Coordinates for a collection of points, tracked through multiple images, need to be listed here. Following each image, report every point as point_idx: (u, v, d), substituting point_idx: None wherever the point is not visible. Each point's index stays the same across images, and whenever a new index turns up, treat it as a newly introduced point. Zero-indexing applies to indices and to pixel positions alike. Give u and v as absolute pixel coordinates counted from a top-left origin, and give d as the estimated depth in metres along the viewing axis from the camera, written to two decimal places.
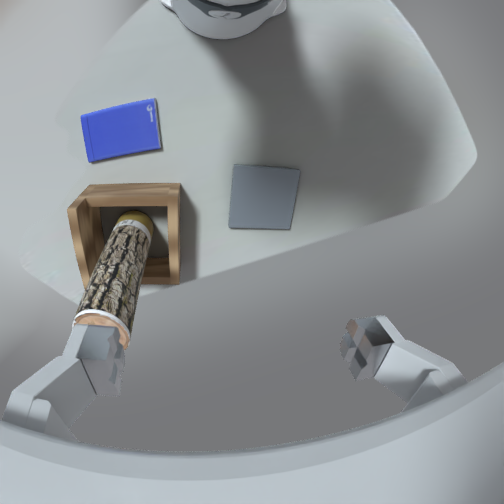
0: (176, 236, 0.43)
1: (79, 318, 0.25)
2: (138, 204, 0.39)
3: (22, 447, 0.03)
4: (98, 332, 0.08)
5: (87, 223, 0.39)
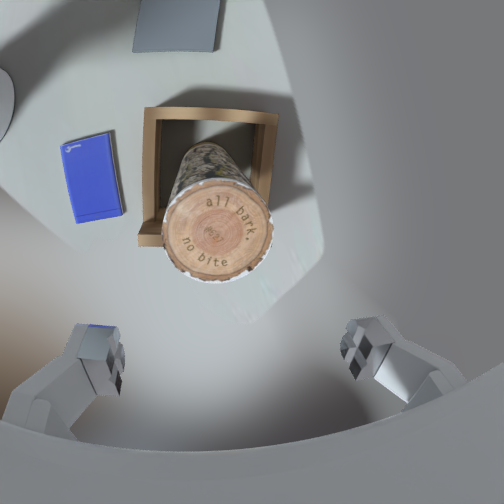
0: (200, 109, 0.30)
1: (178, 262, 0.17)
2: (152, 155, 0.31)
3: (22, 447, 0.03)
4: (98, 332, 0.08)
5: None
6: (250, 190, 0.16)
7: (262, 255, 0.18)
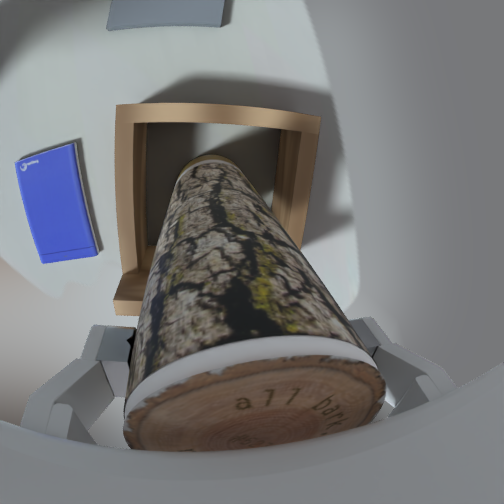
0: (201, 106, 0.19)
1: None
2: (129, 178, 0.20)
3: (22, 447, 0.03)
4: (117, 333, 0.08)
5: None
6: (360, 364, 0.05)
7: None
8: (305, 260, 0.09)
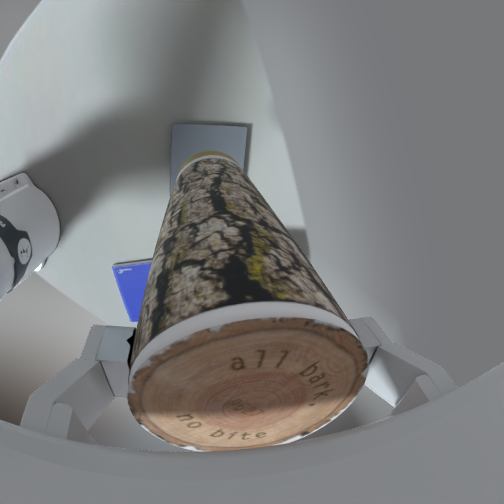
0: None
1: (171, 437, 0.07)
2: None
3: (22, 447, 0.03)
4: (117, 333, 0.08)
5: None
6: (342, 332, 0.06)
7: (332, 417, 0.08)
8: (297, 246, 0.10)
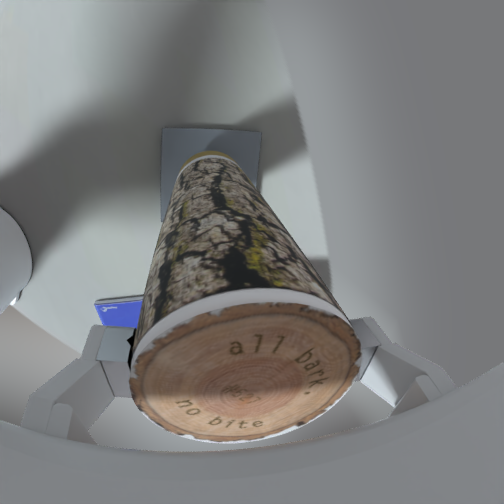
0: None
1: (170, 425, 0.08)
2: None
3: (22, 447, 0.03)
4: (117, 333, 0.08)
5: None
6: (335, 319, 0.07)
7: (327, 407, 0.09)
8: (294, 241, 0.11)
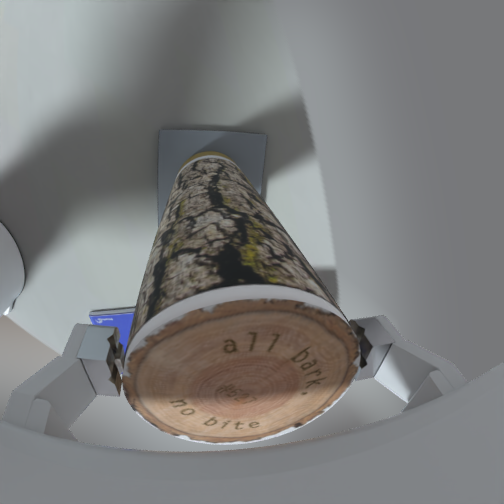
0: None
1: (165, 425, 0.08)
2: None
3: (22, 447, 0.03)
4: (98, 332, 0.08)
5: None
6: (332, 316, 0.06)
7: (325, 408, 0.08)
8: (291, 239, 0.11)
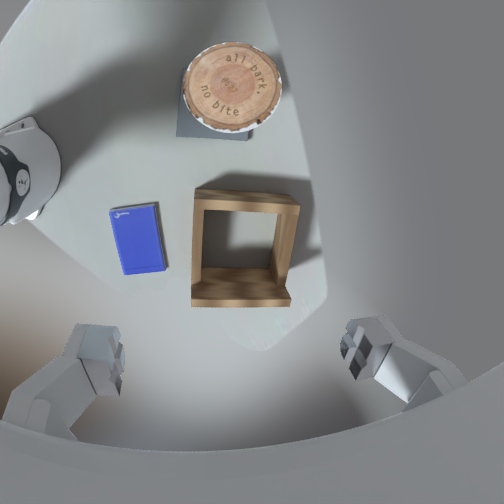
0: (239, 202, 0.42)
1: (193, 108, 0.17)
2: (200, 237, 0.43)
3: (22, 447, 0.03)
4: (98, 332, 0.08)
5: (215, 287, 0.47)
6: (263, 53, 0.16)
7: (271, 110, 0.18)
8: None
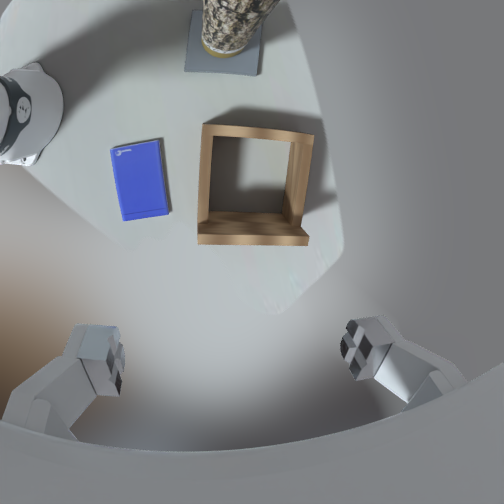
0: (250, 128, 0.37)
1: None
2: (209, 166, 0.38)
3: (22, 447, 0.03)
4: (98, 332, 0.08)
5: (225, 225, 0.42)
6: None
7: None
8: None
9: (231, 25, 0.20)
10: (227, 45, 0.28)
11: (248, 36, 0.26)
